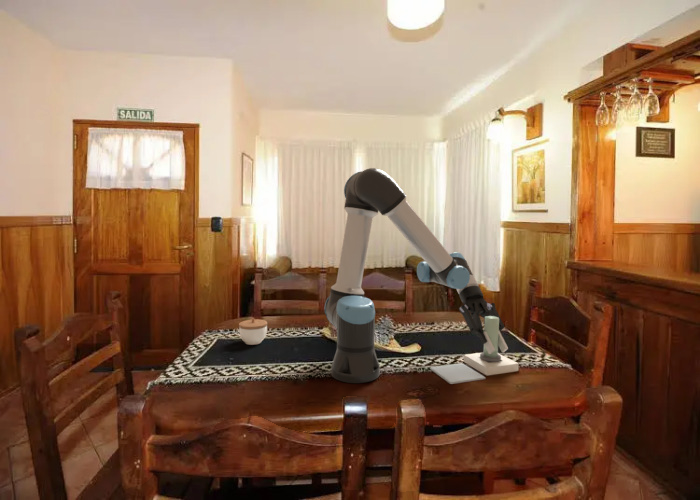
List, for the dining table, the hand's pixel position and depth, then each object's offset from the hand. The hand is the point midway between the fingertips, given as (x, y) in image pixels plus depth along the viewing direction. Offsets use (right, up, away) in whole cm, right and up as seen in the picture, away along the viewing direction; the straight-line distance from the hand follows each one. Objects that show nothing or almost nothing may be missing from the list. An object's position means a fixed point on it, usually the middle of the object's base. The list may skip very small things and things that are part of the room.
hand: (498, 351), depth 123 cm
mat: (-14, -7, -2) cm, 16 cm away
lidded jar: (-85, -4, +28) cm, 90 cm away
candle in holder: (-1, -6, +4) cm, 7 cm away
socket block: (-1, -6, +4) cm, 7 cm away
